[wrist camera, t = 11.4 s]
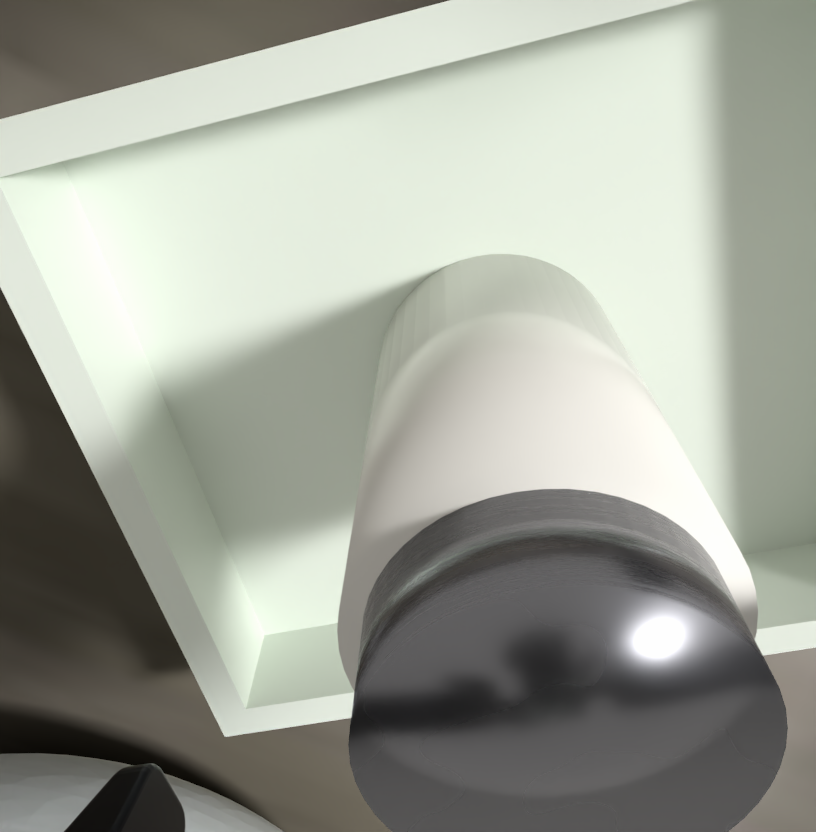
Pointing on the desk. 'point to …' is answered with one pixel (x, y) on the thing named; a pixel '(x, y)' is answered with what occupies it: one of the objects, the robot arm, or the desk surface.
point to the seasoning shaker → (542, 582)
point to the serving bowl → (80, 782)
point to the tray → (413, 285)
